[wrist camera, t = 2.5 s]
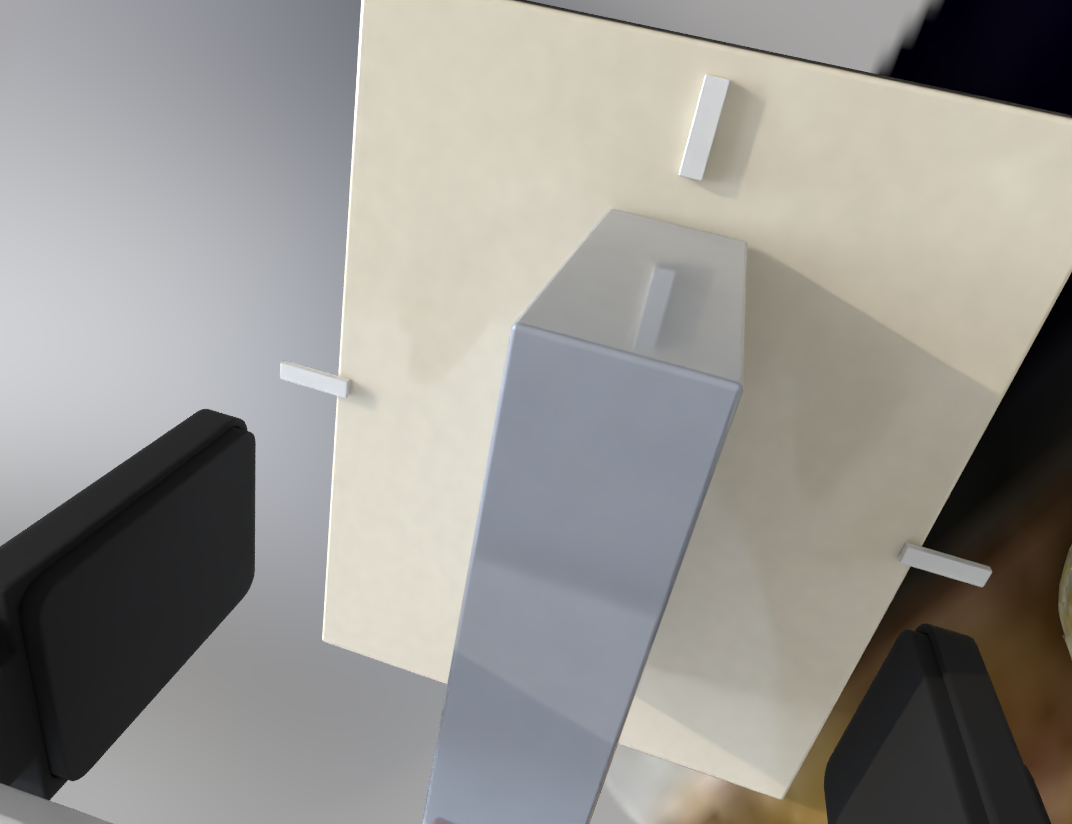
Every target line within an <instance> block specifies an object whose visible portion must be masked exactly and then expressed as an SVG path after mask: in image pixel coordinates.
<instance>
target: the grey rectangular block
mask: <svg viewBox="0 0 1072 824" xmlns="http://www.w3.org/2000/svg"><path fill="white" fill-rule="evenodd" d="M746 283H747V243H746V242H745V241H743V240H739V239H734V238H730V237H726V236H722V235H718V234H714V233H710V232H706V231H702V230H698V229H694V228H690V227H686V226H682V225H678V224H674V223H670V222H666V221H661V220H657V219H653V218H649V217H645V216H641V215H637V214H633V213H629V212H625V211H621V210H617V209H613V208H612V209H609V210H608V211H607V212H606V213H605V214H604V216H603V217H602V218H601V219H600V220H599V222H598V223H597V224H596V225H595V226H594V228H593V229H592V230H591V231H590V232H589V234H588V235H587V236H586V237H585V238H584V240H583V241H582V242H581V243H580V244H579V246H578V247H577V248H576V249H575V250H574V252H573V253H572V254H571V255H570V256H569V258H568V259H567V260H566V261H565V262H564V264H563V265H562V266H561V267H560V268H559V270H558V271H557V272H556V273H555V274H554V276H553V277H552V278H551V279H550V280H549V282H548V283H547V284H546V285H545V286H544V287H543V289H542V290H541V291H540V292H539V293H538V295H537V296H536V297H535V298H534V299H533V301H532V302H531V303H530V304H529V305H528V307H527V308H526V309H525V310H524V311H523V313H522V314H521V315H520V316H519V317H518V319H517V320H516V321H515V322H514V324H513V325H512V326H511V330H510V335H509V341H508V347H507V352H506V358H505V363H504V369H503V375H502V380H501V386H500V391H499V397H498V402H497V408H496V414H495V419H494V425H493V430H492V436H491V442H490V447H489V453H488V458H487V464H486V470H485V475H484V481H483V486H482V492H481V497H480V503H479V509H478V514H477V520H476V525H475V531H474V537H473V542H472V548H471V553H470V559H469V564H468V570H467V576H466V581H465V587H464V592H463V598H462V604H461V609H460V615H459V620H458V626H457V631H456V637H455V643H454V648H453V654H452V659H451V665H450V671H449V676H448V682H447V688H446V693H445V699H444V704H443V710H442V716H441V721H440V727H439V732H438V738H437V743H436V749H435V754H434V760H433V766H432V771H431V777H430V782H429V789H428V794H427V799H426V806H425V811H424V816H423V822H422V824H589V823H590V821H591V818H592V815H593V812H594V809H595V806H596V804H597V801H598V798H599V795H600V793H601V790H602V787H603V784H604V781H605V779H606V776H607V773H608V770H609V767H610V764H611V762H612V759H613V756H614V753H615V750H616V748H617V745H618V742H619V739H620V736H621V734H622V731H623V728H624V725H625V722H626V720H627V717H628V714H629V711H630V708H631V705H632V703H633V700H634V697H635V694H636V691H637V689H638V686H639V683H640V680H641V677H642V675H643V672H644V669H645V666H646V663H647V661H648V658H649V655H650V652H651V649H652V647H653V644H654V641H655V638H656V635H657V632H658V630H659V627H660V624H661V621H662V618H663V616H664V613H665V610H666V607H667V604H668V602H669V599H670V596H671V593H672V590H673V588H674V585H675V582H676V579H677V576H678V574H679V571H680V568H681V565H682V562H683V559H684V557H685V554H686V551H687V548H688V545H689V543H690V540H691V537H692V534H693V531H694V529H695V526H696V523H697V520H698V517H699V515H700V512H701V509H702V506H703V503H704V501H705V498H706V495H707V492H708V489H709V486H710V484H711V481H712V478H713V475H714V472H715V470H716V467H717V464H718V461H719V458H720V456H721V453H722V450H723V447H724V444H725V442H726V439H727V436H728V433H729V430H730V427H731V425H732V422H733V419H734V416H735V413H736V411H737V408H738V405H739V402H740V399H741V397H742V394H743V391H744V356H745V319H746Z"/></svg>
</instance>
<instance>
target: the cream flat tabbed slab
mask: <svg viewBox="0 0 1072 824" xmlns="http://www.w3.org/2000/svg"><path fill="white" fill-rule="evenodd" d="M612 208H613V209H617V210H621V211H625V212H629V213H633V214H637V215H641V216H645V217H649V218H653V219H657V220H661V221H666V222H670V223H674V224H678V225H682V226H686V227H690V228H694V229H698V230H702V231H706V232H710V233H714V234H718V235H722V236H726V237H730V238H734V239H739V240H743V241H745V242H746V243H747V283H746V319H745V356H744V391H743V394H742V397H741V399H740V402H739V405H738V408H737V411H736V413H735V416H734V419H733V422H732V425H731V427H730V430H729V433H728V436H727V439H726V442H725V444H724V447H723V450H722V453H721V456H720V458H719V461H718V464H717V467H716V470H715V472H714V475H713V478H712V481H711V484H710V486H709V489H708V492H707V495H706V498H705V501H704V503H703V506H702V509H701V512H700V515H699V517H698V520H697V523H696V526H695V529H694V531H693V534H692V537H691V540H690V543H689V545H688V548H687V551H686V554H685V557H684V559H683V562H682V565H681V568H680V571H679V574H678V576H677V579H676V582H675V585H674V588H673V590H672V593H671V596H670V599H669V602H668V604H667V607H666V610H665V613H664V616H663V618H662V621H661V624H660V627H659V630H658V632H657V635H656V638H655V641H654V644H653V647H652V649H651V652H650V655H649V658H648V661H647V663H646V666H645V669H644V672H643V675H642V677H641V680H640V683H639V686H638V689H637V691H636V694H635V697H634V700H633V703H632V705H631V708H630V711H629V714H628V717H627V720H626V722H625V725H624V728H623V731H622V734H621V736H620V739H619V742H618V744H620V745H623V746H626V747H629V748H632V749H635V750H638V751H640V752H643V753H646V754H649V755H652V756H655V757H658V758H661V759H664V760H666V761H669V762H672V763H675V764H678V765H681V766H684V767H687V768H689V769H692V770H695V771H698V772H701V773H704V774H707V775H710V776H713V777H715V778H718V779H721V780H724V781H727V782H730V783H733V784H736V785H739V786H741V787H744V788H747V789H750V790H753V791H756V792H759V793H762V794H764V795H767V796H770V797H773V798H776V799H779V800H782V799H784V797H785V795H786V793H787V791H788V790H789V788H790V786H791V784H792V782H793V780H794V779H795V777H796V775H797V773H798V771H799V769H800V768H801V766H802V764H803V762H804V760H805V758H806V757H807V755H808V753H809V751H810V749H811V747H812V746H813V744H814V742H815V740H816V738H817V736H818V735H819V733H820V731H821V729H822V727H823V726H824V724H825V722H826V720H827V718H828V716H829V715H830V713H831V711H832V709H833V707H834V705H835V704H836V702H837V700H838V698H839V696H840V694H841V693H842V691H843V689H844V687H845V685H846V683H847V682H848V680H849V678H850V676H851V674H852V673H853V671H854V669H855V667H856V665H857V663H858V662H859V660H860V658H861V656H862V654H863V652H864V651H865V649H866V647H867V645H868V643H869V641H870V640H871V638H872V636H873V634H874V632H875V630H876V629H877V627H878V625H879V623H880V621H881V619H882V618H883V616H884V614H885V612H886V610H887V609H888V607H889V605H890V603H891V601H892V599H893V598H894V596H895V594H896V592H897V590H898V588H899V587H900V585H901V583H902V581H903V579H904V577H905V576H906V574H907V572H908V570H909V568H910V566H912V567H915V568H919V569H922V570H925V571H929V572H932V573H936V574H939V575H942V576H946V577H949V578H952V579H956V580H959V581H962V582H966V583H969V584H973V585H976V586H979V587H983V586H984V585H985V583H986V581H987V580H988V578H989V577H990V575H991V573H992V570H991V568H990V567H989V566H986V565H983V564H979V563H976V562H973V561H969V560H966V559H962V558H959V557H955V556H952V555H949V554H945V553H942V552H938V551H935V550H932V549H928V548H925V547H921V546H922V545H923V543H924V541H925V539H926V537H927V535H928V534H929V532H930V530H931V528H932V526H933V524H934V523H935V521H936V519H937V517H938V515H939V513H940V512H941V510H942V508H943V506H944V504H945V502H946V501H947V499H948V497H949V495H950V493H951V492H952V490H953V488H954V486H955V484H956V482H957V481H958V479H959V477H960V475H961V473H962V471H963V470H964V468H965V466H966V464H967V462H968V460H969V459H970V457H971V455H972V453H973V451H974V449H975V448H976V446H977V444H978V442H979V440H980V439H981V437H982V435H983V433H984V431H985V429H986V428H987V426H988V424H989V422H990V420H991V418H992V417H993V415H994V413H995V411H996V409H997V407H998V406H999V404H1000V402H1001V400H1002V398H1003V396H1004V395H1005V393H1006V391H1007V389H1008V387H1009V385H1010V384H1011V382H1012V380H1013V378H1014V376H1015V375H1016V373H1017V371H1018V369H1019V367H1020V365H1021V364H1022V362H1023V360H1024V358H1025V356H1026V354H1027V353H1028V351H1029V349H1030V347H1031V345H1032V343H1033V342H1034V340H1035V338H1036V336H1037V334H1038V332H1039V331H1040V329H1041V327H1042V325H1043V323H1044V322H1045V320H1046V318H1047V316H1048V314H1049V312H1050V311H1051V309H1052V307H1053V305H1054V303H1055V301H1056V300H1057V298H1058V296H1059V294H1060V292H1061V290H1062V289H1063V287H1064V285H1065V283H1066V281H1067V279H1068V278H1069V276H1070V274H1071V272H1072V116H1071V115H1067V114H1063V113H1058V112H1053V111H1049V110H1044V109H1039V108H1034V107H1030V106H1025V105H1020V104H1015V103H1011V102H1006V101H1001V100H996V99H992V98H987V97H982V96H977V95H973V94H968V93H963V92H958V91H954V90H949V89H944V88H939V87H935V86H930V85H925V84H920V83H916V82H911V81H906V80H901V79H897V78H892V77H887V76H882V75H878V74H873V73H868V72H864V71H859V70H854V69H849V68H845V67H840V66H835V65H830V64H826V63H821V62H816V61H811V60H806V59H802V58H797V57H792V56H787V55H782V54H778V53H773V52H769V51H764V50H759V49H754V48H750V47H745V46H740V45H735V44H731V43H726V42H721V41H716V40H712V39H707V38H702V37H697V36H692V35H688V34H683V33H678V32H674V31H669V30H664V29H660V28H655V27H650V26H645V25H641V24H636V23H631V22H626V21H621V20H617V19H612V18H607V17H603V16H598V15H593V14H588V13H584V12H578V11H574V10H569V9H565V8H560V7H555V6H550V5H545V4H541V3H536V2H532V1H527V0H362V2H361V18H360V34H359V49H358V65H357V82H356V98H355V114H354V130H353V147H352V163H351V180H350V196H349V212H348V213H349V214H348V228H347V245H346V262H345V279H344V294H343V310H342V326H341V342H340V358H339V375H334V374H331V373H327V372H324V371H321V370H317V369H314V368H310V367H307V366H303V365H300V364H296V363H293V362H290V361H286V360H284V361H282V362H281V363H280V379H282V380H286V381H289V382H292V383H296V384H299V385H303V386H306V387H309V388H313V389H316V390H319V391H323V392H326V393H330V394H333V395H337V408H336V424H335V440H334V456H333V474H332V489H331V505H330V522H329V538H328V554H327V571H326V587H325V603H324V619H323V636H322V640H323V641H324V642H326V643H329V644H332V645H335V646H338V647H340V648H343V649H346V650H349V651H352V652H355V653H358V654H361V655H364V656H367V657H369V658H372V659H375V660H378V661H381V662H384V663H387V664H390V665H392V666H396V667H398V668H401V669H404V670H407V671H410V672H413V673H416V674H418V675H421V676H424V677H427V678H430V679H433V680H436V681H439V682H441V683H444V684H447V682H448V676H449V671H450V665H451V659H452V654H453V648H454V643H455V637H456V631H457V626H458V620H459V615H460V609H461V604H462V598H463V592H464V587H465V581H466V576H467V570H468V564H469V559H470V553H471V548H472V542H473V537H474V531H475V525H476V520H477V514H478V509H479V503H480V497H481V492H482V486H483V481H484V475H485V470H486V464H487V458H488V453H489V447H490V442H491V436H492V430H493V425H494V419H495V414H496V408H497V402H498V397H499V391H500V386H501V380H502V375H503V369H504V363H505V358H506V352H507V347H508V341H509V335H510V330H511V326H512V325H513V324H514V322H515V321H516V320H517V319H518V317H519V316H520V315H521V314H522V313H523V311H524V310H525V309H526V308H527V307H528V305H529V304H530V303H531V302H532V301H533V299H534V298H535V297H536V296H537V295H538V293H539V292H540V291H541V290H542V289H543V287H544V286H545V285H546V284H547V283H548V282H549V280H550V279H551V278H552V277H553V276H554V274H555V273H556V272H557V271H558V270H559V268H560V267H561V266H562V265H563V264H564V262H565V261H566V260H567V259H568V258H569V256H570V255H571V254H572V253H573V252H574V250H575V249H576V248H577V247H578V246H579V244H580V243H581V242H582V241H583V240H584V238H585V237H586V236H587V235H588V234H589V232H590V231H591V230H592V229H593V228H594V226H595V225H596V224H597V223H598V222H599V220H600V219H601V218H602V217H603V216H604V214H605V213H606V212H607V211H608V210H609V209H612Z"/></svg>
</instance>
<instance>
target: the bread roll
mask: <svg viewBox="0 0 1072 824" xmlns="http://www.w3.org/2000/svg"><path fill="white" fill-rule="evenodd" d="M1058 608H1059V615H1060V621H1061V624H1062V628H1063V631H1064V635H1063V638H1064V640H1065V642H1066V644H1067V647H1068V650H1069V653H1070V656H1071V659H1072V545H1071V547H1070V549H1069V551H1068V555H1067V558H1066V561H1065V565H1064V568H1063V572H1062V577H1061V581H1060V585H1059V601H1058Z"/></svg>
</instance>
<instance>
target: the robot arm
mask: <svg viewBox="0 0 1072 824" xmlns="http://www.w3.org/2000/svg"><path fill="white" fill-rule="evenodd" d="M254 571H255V437H254V435H253V434H252V433H251V432H248V431H247V426H246V424H245V422H244V421H243V420H241V419H239V418H236V417H233V416H229V415H226V414H222V413H219V412H216V411H213V410H209V409H202V410H200V411H198V412H196V413H195V414H193V415H192V416H190V417H189V418H187V419H186V420H185V421H183V422H182V423H180V424H179V425H177V426H176V427H174V428H173V429H171V430H170V431H168V432H167V433H166V434H164V435H163V436H162V437H160V438H158V439H157V440H155V441H154V442H152V443H151V444H150V445H148V446H147V447H145V448H144V449H142V450H141V451H139V452H138V453H136V454H135V455H133V456H132V457H131V458H129V459H128V460H126V461H125V462H123V463H122V464H120V465H119V466H117V467H116V468H114V469H113V470H112V471H110V472H109V473H107V474H106V475H104V476H103V477H101V478H100V479H99V480H97V481H96V482H94V483H93V484H91V485H90V486H88V487H87V488H86V489H84V490H82V491H81V492H79V493H78V494H76V495H75V496H74V497H72V498H71V499H69V500H68V501H66V502H65V503H63V504H62V505H61V506H59V507H57V508H56V509H55V510H53V511H52V512H50V513H49V514H47V515H46V516H44V517H43V518H42V519H40V520H38V521H37V522H36V523H34V524H33V525H31V526H30V527H28V528H27V529H25V530H24V531H22V532H21V533H19V534H18V535H17V536H15V537H14V538H12V539H11V540H9V541H8V542H7V543H5V544H4V545H2V546H1V547H0V824H112V823H109V822H107V821H104V820H101V819H98V818H96V817H93V816H91V815H88V814H85V813H83V812H80V811H77V810H75V809H71V808H69V807H66V806H63V805H60V804H58V803H55V802H52V801H49V800H50V799H51V798H52V797H53V796H54V795H55V794H56V793H57V791H58V790H59V789H60V788H61V787H62V786H63V785H64V784H65V783H66V782H67V780H71V781H75V780H78V779H80V778H81V777H83V776H84V775H85V774H86V773H87V772H88V771H89V770H90V769H91V768H92V767H93V766H94V765H95V764H96V762H97V761H98V760H99V759H100V758H101V757H102V756H103V755H104V753H105V752H106V751H107V750H108V749H109V748H110V747H111V745H112V744H113V743H114V742H115V741H116V740H117V739H118V738H119V737H120V736H121V734H122V733H123V732H124V731H125V730H126V729H127V728H128V727H129V725H130V724H131V723H132V722H133V721H134V720H135V719H136V718H137V716H138V715H139V714H140V713H141V712H142V711H143V710H144V709H145V707H146V706H147V705H148V704H149V703H150V702H151V701H152V700H153V698H154V697H155V696H156V695H157V694H158V693H159V692H160V691H161V689H162V688H163V687H164V686H165V685H166V684H167V683H168V682H169V681H170V679H171V678H172V677H173V676H174V675H175V674H176V673H177V672H178V670H179V669H180V668H181V667H182V666H183V665H184V664H185V663H186V661H187V660H188V659H189V658H190V657H191V656H192V655H193V654H194V652H195V651H196V650H197V649H198V648H199V647H200V646H201V644H202V643H203V642H204V641H205V640H206V639H207V638H208V636H210V634H211V633H212V632H213V631H214V630H215V629H216V628H217V627H218V626H219V624H220V623H221V622H222V621H223V620H224V619H225V618H226V616H227V615H228V614H229V613H230V612H231V611H232V610H233V609H234V608H235V606H236V605H237V604H238V603H239V602H240V601H241V600H242V599H243V597H244V596H245V595H246V594H247V592H248V590H249V588H250V586H251V584H252V581H253V578H254ZM824 791H825V800H826V809H827V818H828V824H1051V822H1050V819H1049V817H1048V814H1047V812H1046V809H1045V807H1044V804H1043V802H1042V799H1041V797H1040V794H1039V792H1038V789H1037V787H1036V784H1035V782H1034V779H1033V777H1032V775H1031V774H1030V772H1029V770H1028V768H1027V767H1026V766H1025V765H1024V764H1023V761H1022V759H1021V756H1020V754H1019V751H1018V749H1017V746H1016V744H1015V741H1014V738H1013V736H1012V733H1011V731H1010V728H1009V726H1008V723H1007V721H1006V718H1005V715H1004V713H1003V710H1002V708H1001V705H1000V703H999V700H998V698H997V695H996V693H995V690H994V687H993V685H992V682H991V680H990V677H989V675H988V672H987V670H986V667H985V664H984V662H983V659H982V657H981V654H980V652H979V649H978V647H977V644H976V643H975V641H974V639H972V638H971V637H969V636H967V635H963V634H960V633H957V632H953V631H950V630H947V629H943V628H940V627H936V626H933V625H930V624H922V625H920V626H919V627H918V628H917V629H916V630H915V632H914V631H911V630H904V631H903V632H901V634H900V635H899V637H898V638H897V640H896V642H895V644H894V645H893V647H892V649H891V651H890V652H889V654H888V656H887V658H886V659H885V661H884V663H883V665H882V667H881V668H880V670H879V672H878V674H877V675H876V677H875V679H874V681H873V682H872V684H871V686H870V688H869V690H868V691H867V693H866V695H865V697H864V698H863V700H862V702H861V704H860V705H859V707H858V709H857V711H856V713H855V714H854V716H853V718H852V720H851V721H850V723H849V725H848V727H847V728H846V730H845V732H844V734H843V736H842V737H841V739H840V741H839V743H838V744H837V746H836V748H835V750H834V751H833V753H832V755H831V757H830V759H829V761H828V763H827V767H826V771H825V777H824Z"/></svg>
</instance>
